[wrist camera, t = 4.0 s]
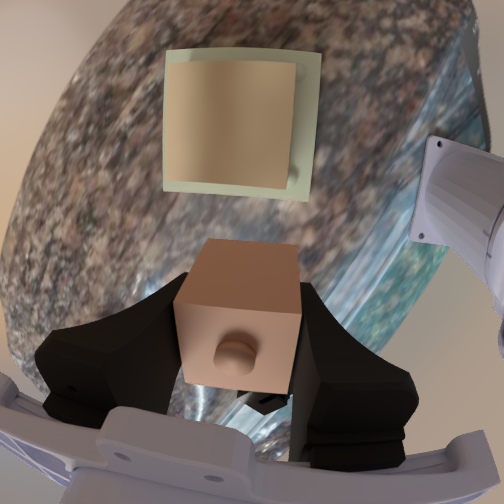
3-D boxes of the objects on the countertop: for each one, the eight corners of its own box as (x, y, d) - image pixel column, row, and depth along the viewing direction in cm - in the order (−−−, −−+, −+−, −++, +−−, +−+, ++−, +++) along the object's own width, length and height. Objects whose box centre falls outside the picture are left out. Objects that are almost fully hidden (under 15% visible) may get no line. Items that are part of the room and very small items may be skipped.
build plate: (320, 55, 16) (322, 52, 15) (307, 198, 21) (308, 203, 20) (170, 52, 17) (164, 49, 16) (167, 188, 21) (161, 192, 20)
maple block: (296, 71, 16) (295, 63, 13) (288, 178, 19) (286, 189, 16) (186, 69, 17) (168, 63, 14) (183, 170, 20) (165, 180, 17)
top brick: (296, 244, 14) (302, 322, 9) (288, 316, 15) (286, 401, 10) (207, 238, 14) (169, 309, 9) (210, 309, 16) (182, 390, 11)
